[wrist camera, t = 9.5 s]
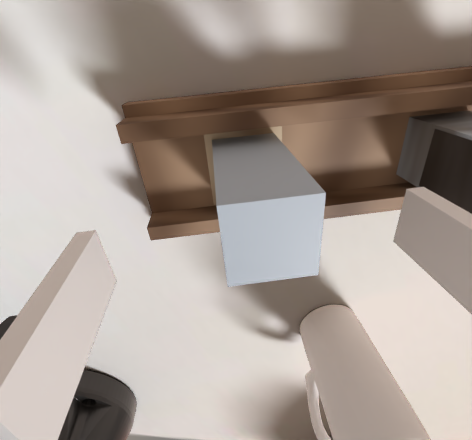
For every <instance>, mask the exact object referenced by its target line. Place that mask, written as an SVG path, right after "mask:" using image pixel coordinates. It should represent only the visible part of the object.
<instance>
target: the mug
mask: <svg viewBox="0 0 472 440" xmlns="http://www.w3.org/2000/svg"><path fill="white" fill-rule="evenodd" d="M300 334H301V338H302V341H303V344H304V348H305V351H306V354H307V358H308V361H309V364H310V367H311V370H310V371H309V372H308V373H307V374H306V376H305V379H306V388H307V398H308V407H309V413H310V418H311V422H312V426H313V429H314V432H315V435H316V437H317V439H318V440H331V438H330V437H329V436H328V434H327V432H326V430H325V428H324V426H323V423H322V419H321V415H320V409H319V396H320V399H321V402H322V406H323V409H324V412H325V415H326V418H327V422H328V425H329V428H330V431H331V435H332V438H333V440H431V439H430V437H429V435H428V434H427V432H426V430H425V428H424V427H423V425H422V423H421V421H420V420H419V418H418V416H417V415H416V413H415V412H414V410H413V408H412V407H411V405H410V403H409V402H408V400H407V398H406V397H405V395H404V393H403V392H402V390H401V389H400V387H399V385H398V384H397V382H396V380H395V379H394V377H393V375H392V374H391V372H390V371H389V369H388V367H387V366H386V364H385V362H384V361H383V359H382V357H381V356H380V354H379V352H378V351H377V349H376V347H375V346H374V344H373V343H372V341H371V339H370V338H369V336H368V334H367V333H366V331H365V329H364V328H363V326H362V324H361V323H360V321H359V320H358V318H357V317H356V315H355V314H354V312H353V311H352V310H351V309H350V308H348V307H346V306H343V305H326V306H322V307H320V308H317V309H315V310H313V311H312V312H310V313H309V314H308V315H307V316H306V317H305V318H304V319H303V320H302V322H301V324H300Z"/></svg>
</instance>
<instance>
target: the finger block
mask: <svg viewBox="0 0 472 440" xmlns="http://www.w3.org/2000/svg"><path fill="white" fill-rule="evenodd" d="M212 149H213V163H214V178H215V192H216V206H217V213H218V220H219V227H220V235H221V242H222V249H223V256H224V263H225V270H226V278H227V285H228V287H230V286H238V285H246V284H253V283H261V282H269V281H276V280H284V279H291V278H299V277H307V276H314V275H318V273H319V262H320V252H321V241H322V231H323V220H324V209H325V199H326V192H325V191H324V190H323V189H322V188H321V186H320V185H319V184H318V183H317V182H316V181H315V180H314V178H313V177H312V176H311V175H310V174H309V173H308V172H307V170H306V169H305V168H304V167H303V166H302V165H301V164H300V162H299V161H298V160H297V159H296V158H295V157H294V155H293V154H292V153H291V152H290V151H289V150H288V149H287V147H286V146H285V145H284V144H283V143H282V142H281V141H280V139H279V138H278V137H277V136H276V135H275V134H274V133H268V134H259V135H250V136H241V137H232V138H223V139H214V140H212Z"/></svg>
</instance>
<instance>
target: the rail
mask: <svg viewBox="0 0 472 440" xmlns="http://www.w3.org/2000/svg"><path fill="white" fill-rule="evenodd" d="M122 108H123V112H124V116H125V119H123V120H122V121H121V122H119V123H118V124H117V125H116V127H117V131H118V134H119V137H120V141H121V144H125V143H132V144H133V147H134V151H135V154H136V158H137V162H138V165H139V169H140V172H141V176H142V179H143V183H144V186H145V190H146V193H147V197H148V200H149V204H150V208H151V211H152V215H151V218H150V221H149V224H148V227H147V229H148V233H149V236H150V239H151V240H158V239H166V238H174V237H182V236H190V235H198V234H206V233H214V232H220V227H219V220H218V213H217V206H216V192H215V178H214V163H213V149H212V140H214V139H223V138H232V137H241V136H250V135H259V134H268V133H274V134H275V135H276V136H277V137H278V138H279V139H280V141H281V142H282V143H283V144H284V145H285V146H286V147H287V149H288V150H289V151H290V152H291V153H292V154H293V155H294V157H295V158H296V159H297V160H298V161H299V162H300V164H301V165H302V166H303V167H304V168H305V169H306V170H307V172H308V173H309V174H310V175H311V176H312V177H313V178H314V180H315V181H316V182H317V183H318V184H319V185H320V186H321V188H322V189H323V190H324V191H325V192H326V199H325V209H324V219H327V218H335V217H343V216H351V215H359V214H368V213H376V212H384V211H392V210H400V209H402V205H403V201H404V197H405V193H406V189H410V188H417V187H425V188H427V189H428V190H430V191H432V192H434V193H436V194H437V195H439V196H441V197H443V198H444V199H446V200H448V201H450V202H452V203H453V204H455V205H457V206H459V207H460V208H462V209H464V210H466V211H468V212H469V213H471V214H472V66H468V67H459V68H449V69H440V70H431V71H421V72H412V73H402V74H393V75H383V76H374V77H364V78H355V79H345V80H336V81H326V82H317V83H307V84H298V85H288V86H279V87H269V88H260V89H250V90H241V91H231V92H222V93H212V94H203V95H193V96H184V97H174V98H165V99H155V100H146V101H137V102H127V103H125V104H123V105H122Z"/></svg>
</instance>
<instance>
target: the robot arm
mask: <svg viewBox="0 0 472 440" xmlns="http://www.w3.org/2000/svg"><path fill="white" fill-rule="evenodd" d="M394 242H395V243H396V244H397V245H398V246H399V247H400V248H401V249H402V250H403V251H404V252H405V253H406V254H408V255H409V256H410V257H411V258H412V259H413V260H414V261H415V262H416V263H417V264H418V265H419V266H420V267H422V268H423V269H424V270H425V271H426V272H427V273H428V274H429V275H430V276H431V277H432V278H433V279H434V280H435V281H437V282H438V283H439V284H440V285H441V286H442V287H443V288H444V289H445V290H446V291H447V292H448V293H449V294H451V295H452V296H453V297H454V298H455V299H456V300H457V301H458V302H459V303H460V304H461V305H462V306H463V307H464V308H466V309H467V310H468V311H469V312H470V313H471V314H472V214H471V213H469V212H468V211H466V210H464V209H462V208H460V207H459V206H457V205H455V204H453V203H452V202H450V201H448V200H446V199H444V198H443V197H441V196H439V195H437V194H436V193H434V192H432V191H430V190H428V189H427V188H425V187H417V188H410V189H406V193H405V197H404V201H403V205H402V209H401V213H400V217H399V221H398V225H397V229H396V233H395V237H394ZM116 282H117V280H116V278H115V275H114V273H113V270H112V268H111V266H110V263H109V261H108V258H107V256H106V254H105V251H104V249H103V246H102V244H101V241H100V239H99V237H98V234H97V232H96V230H94V231H86V232H78V233H76V234H75V236H74V237H73V238H72V240H71V241H70V243H69V244H68V245H67V247H66V248H65V250H64V251H63V252H62V254H61V255H60V257H59V258H58V259H57V261H56V262H55V264H54V265H53V266H52V268H51V269H50V271H49V272H48V273H47V275H46V276H45V278H44V279H43V280H42V282H41V283H40V285H39V286H38V288H37V289H36V290H35V292H34V293H33V295H32V296H31V297H30V299H29V300H28V302H27V303H26V304H25V306H24V307H23V309H22V310H21V311H20V313H19V314H18V315H17V316H10V317H8V318H7V319H6V320H4V321H3V322H2V323H1V324H0V440H126V439H127V437H128V435H129V433H130V431H131V429H132V426H133V422H134V417H135V412H136V406H137V402H136V398H135V396H134V394H133V393H132V392H131V390H130V389H129V388H128V387H126V386H125V385H124V384H122V383H121V382H119V381H117V380H115V379H113V378H111V377H109V376H106V375H103V374H100V373H96V372H92V371H87V370H84V368H85V365H86V362H87V360H88V357H89V354H90V352H91V349H92V346H93V344H94V341H95V338H96V336H97V333H98V330H99V328H100V325H101V322H102V319H103V317H104V314H105V311H106V309H107V306H108V303H109V301H110V298H111V295H112V293H113V290H114V287H115V285H116Z"/></svg>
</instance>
